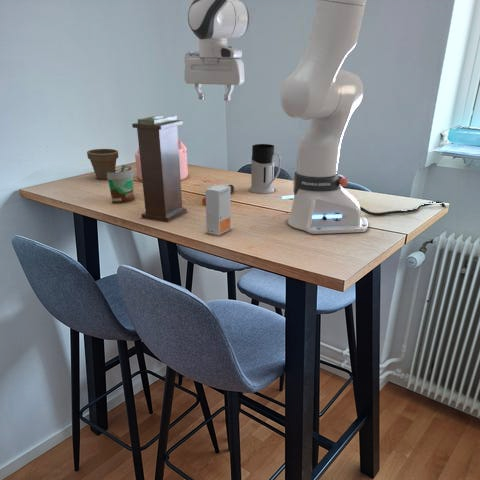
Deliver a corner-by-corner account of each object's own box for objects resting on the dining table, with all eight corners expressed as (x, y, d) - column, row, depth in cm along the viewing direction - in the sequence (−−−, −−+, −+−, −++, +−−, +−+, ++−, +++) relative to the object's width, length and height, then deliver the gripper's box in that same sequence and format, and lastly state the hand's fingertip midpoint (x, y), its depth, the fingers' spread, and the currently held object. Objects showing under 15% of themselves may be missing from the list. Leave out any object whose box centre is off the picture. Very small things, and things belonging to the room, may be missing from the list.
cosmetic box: (219, 236, 125) (218, 191, 119) (206, 233, 127) (204, 188, 121) (231, 229, 130) (231, 186, 124) (218, 227, 132) (217, 184, 126)
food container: (128, 205, 150) (124, 173, 145) (110, 204, 151) (106, 172, 146) (142, 195, 160) (139, 165, 155) (126, 194, 161) (122, 164, 156)
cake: (142, 171, 192) (139, 134, 185) (191, 171, 192) (189, 134, 185) (132, 183, 175) (128, 143, 168) (186, 183, 175) (183, 143, 168)
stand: (163, 207, 148) (155, 114, 134) (187, 211, 145) (182, 115, 131) (141, 218, 139) (131, 118, 125) (167, 222, 135) (159, 120, 122)
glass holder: (264, 185, 172) (266, 142, 165) (289, 194, 162) (291, 149, 154) (245, 189, 168) (245, 145, 160) (268, 198, 158) (270, 151, 150)
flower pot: (126, 175, 186) (123, 148, 181) (113, 182, 177) (109, 154, 172) (99, 173, 189) (95, 147, 184) (85, 180, 179) (81, 152, 174)
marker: (231, 192, 166) (226, 187, 165) (235, 188, 164) (231, 183, 164) (205, 206, 151) (200, 200, 150) (210, 202, 149) (205, 196, 149)
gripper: (179, 51, 148) (182, 99, 154) (238, 51, 140) (238, 102, 147) (189, 51, 153) (191, 98, 159) (246, 51, 145) (246, 100, 152)
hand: (214, 100), depth 153 cm, fingers open, 8 cm apart
